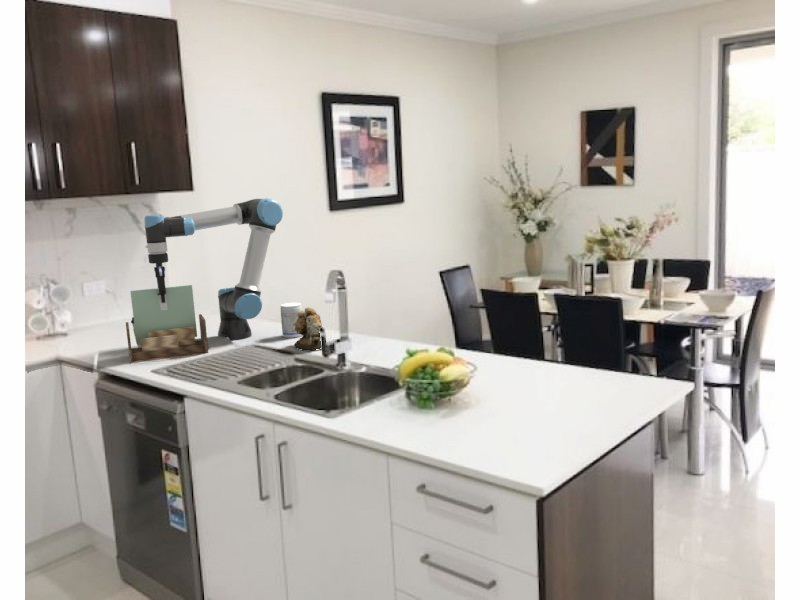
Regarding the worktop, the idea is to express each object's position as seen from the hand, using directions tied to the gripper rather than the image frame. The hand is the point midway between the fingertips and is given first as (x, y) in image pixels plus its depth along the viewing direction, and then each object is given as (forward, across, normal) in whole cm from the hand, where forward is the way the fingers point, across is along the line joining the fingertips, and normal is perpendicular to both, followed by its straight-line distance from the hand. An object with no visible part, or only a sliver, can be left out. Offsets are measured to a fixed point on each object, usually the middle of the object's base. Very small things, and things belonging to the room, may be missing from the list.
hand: (164, 309), depth 284 cm
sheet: (+13, 0, 0) cm, 13 cm away
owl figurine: (+20, +18, +56) cm, 62 cm away
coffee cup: (+20, -14, -8) cm, 26 cm away
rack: (+19, +5, 0) cm, 20 cm away
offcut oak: (+18, +3, +2) cm, 18 cm away
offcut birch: (+18, +6, -3) cm, 19 cm away
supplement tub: (+20, -7, +55) cm, 59 cm away
